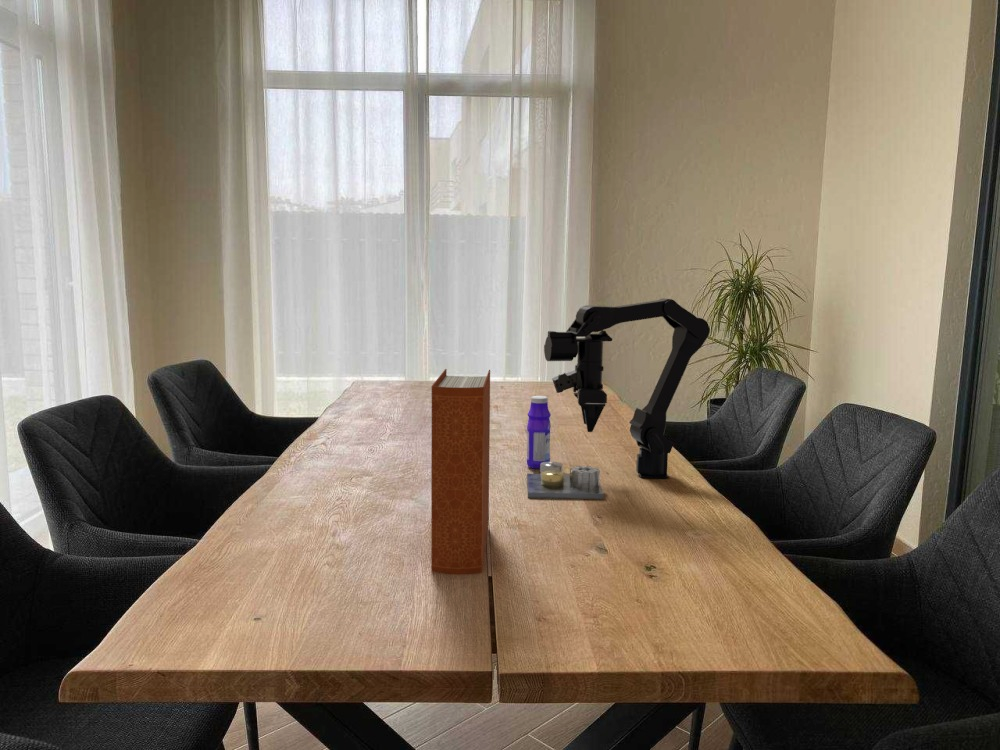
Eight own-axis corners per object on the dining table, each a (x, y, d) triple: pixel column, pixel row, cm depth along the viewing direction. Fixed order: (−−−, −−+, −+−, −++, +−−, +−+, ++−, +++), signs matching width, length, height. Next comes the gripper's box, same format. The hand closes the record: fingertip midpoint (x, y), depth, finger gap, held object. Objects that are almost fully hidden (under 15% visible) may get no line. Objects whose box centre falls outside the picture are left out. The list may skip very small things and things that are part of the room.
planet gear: (597, 481, 179) (597, 465, 179) (600, 488, 173) (600, 473, 172) (568, 480, 179) (569, 465, 179) (570, 488, 173) (571, 472, 172)
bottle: (547, 470, 193) (549, 399, 191) (524, 469, 194) (525, 398, 192) (551, 463, 200) (553, 395, 198) (529, 462, 201) (530, 394, 199)
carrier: (595, 479, 185) (596, 460, 184) (603, 499, 169) (604, 478, 169) (526, 478, 185) (527, 459, 185) (528, 498, 169) (528, 477, 169)
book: (444, 527, 149) (445, 368, 145) (488, 528, 149) (490, 369, 145) (430, 574, 127) (430, 387, 123) (481, 575, 126) (483, 388, 123)
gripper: (552, 355, 192) (551, 419, 194) (556, 365, 173) (555, 435, 175) (599, 356, 192) (597, 420, 194) (608, 365, 173) (606, 436, 175)
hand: (588, 427), depth 184 cm, fingers open, 9 cm apart
